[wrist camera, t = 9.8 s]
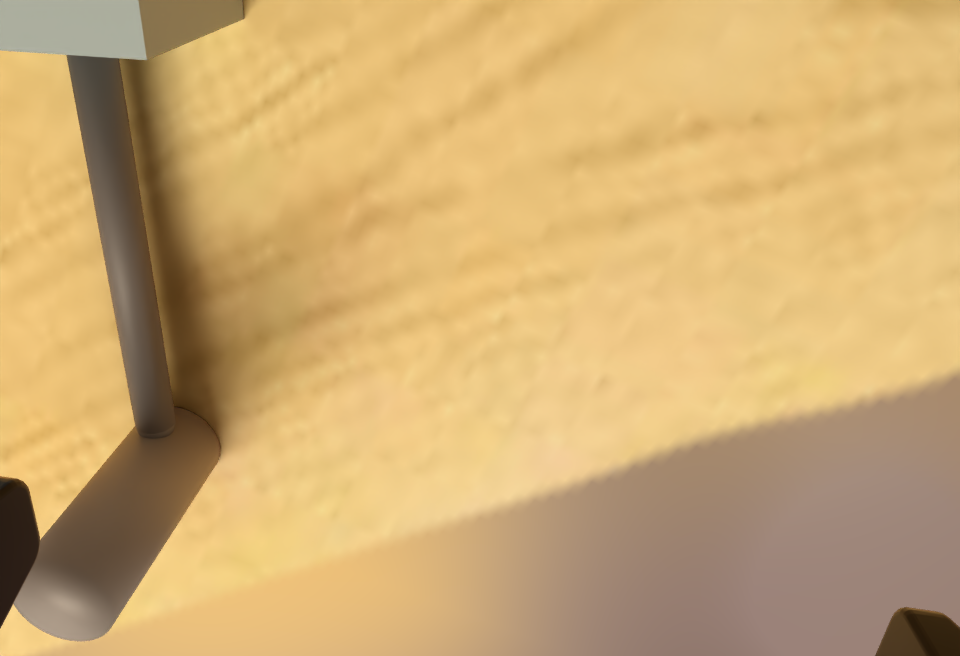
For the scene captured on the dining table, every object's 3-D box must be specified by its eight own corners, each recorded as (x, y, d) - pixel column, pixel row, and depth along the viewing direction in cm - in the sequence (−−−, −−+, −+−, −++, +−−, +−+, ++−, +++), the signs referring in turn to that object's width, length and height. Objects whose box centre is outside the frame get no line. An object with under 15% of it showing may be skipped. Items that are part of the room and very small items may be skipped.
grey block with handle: (206, -401, 15) (-4, -545, 10) (285, 487, 24) (199, 657, 19) (-112, -406, 16) (-474, -546, 10) (85, 465, 25) (-53, 624, 20)
